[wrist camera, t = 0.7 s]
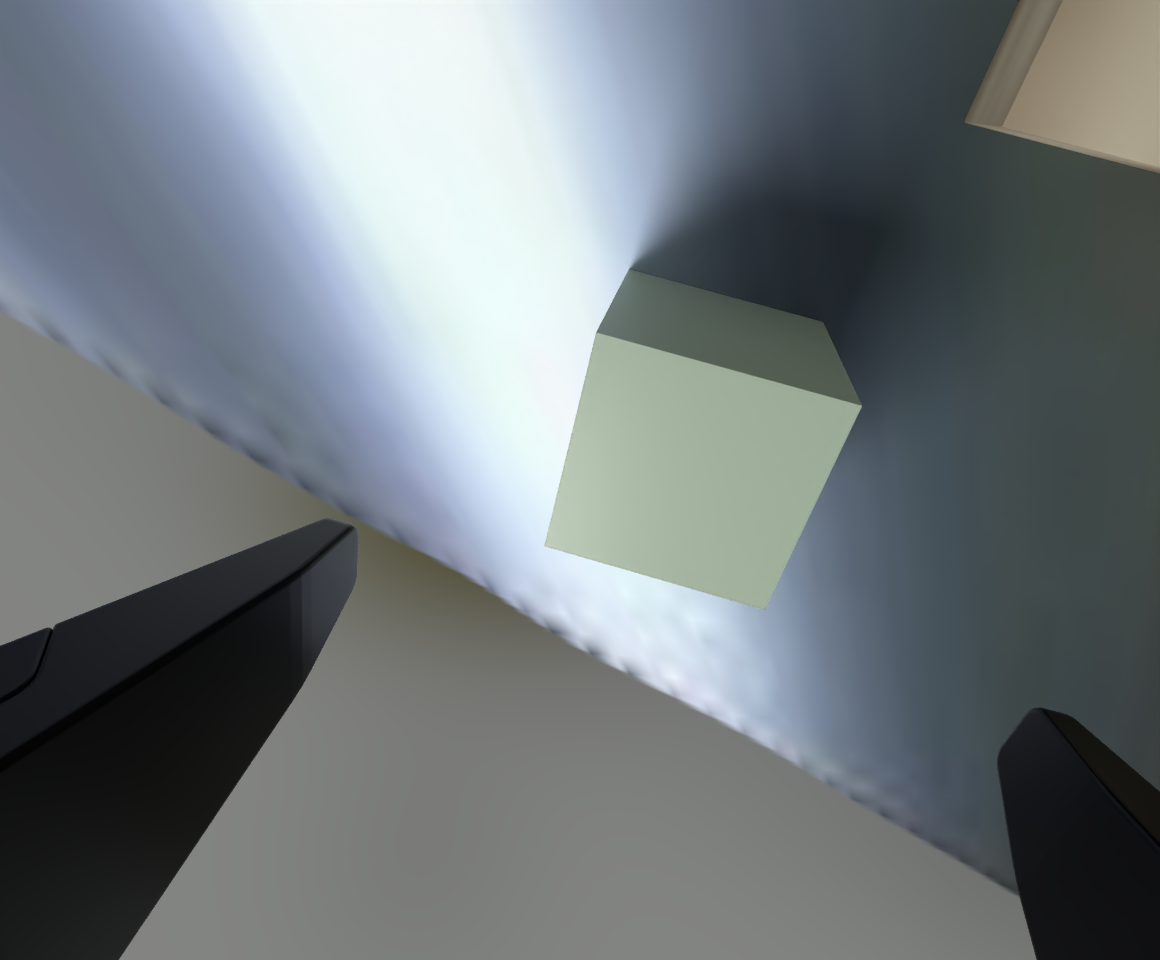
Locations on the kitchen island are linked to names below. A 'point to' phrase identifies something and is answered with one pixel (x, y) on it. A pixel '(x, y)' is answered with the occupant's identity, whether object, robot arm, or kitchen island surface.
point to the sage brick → (701, 439)
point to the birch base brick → (1078, 79)
